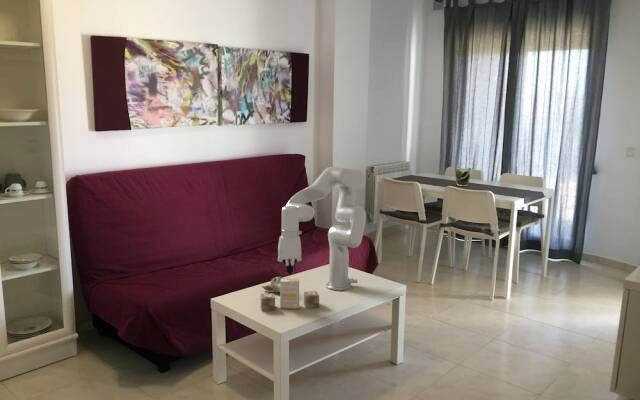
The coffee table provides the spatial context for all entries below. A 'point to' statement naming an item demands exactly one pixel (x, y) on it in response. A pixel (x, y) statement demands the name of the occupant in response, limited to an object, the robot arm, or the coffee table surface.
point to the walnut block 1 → (267, 302)
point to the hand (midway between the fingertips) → (289, 273)
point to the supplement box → (289, 293)
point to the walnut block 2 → (311, 299)
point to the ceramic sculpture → (274, 285)
